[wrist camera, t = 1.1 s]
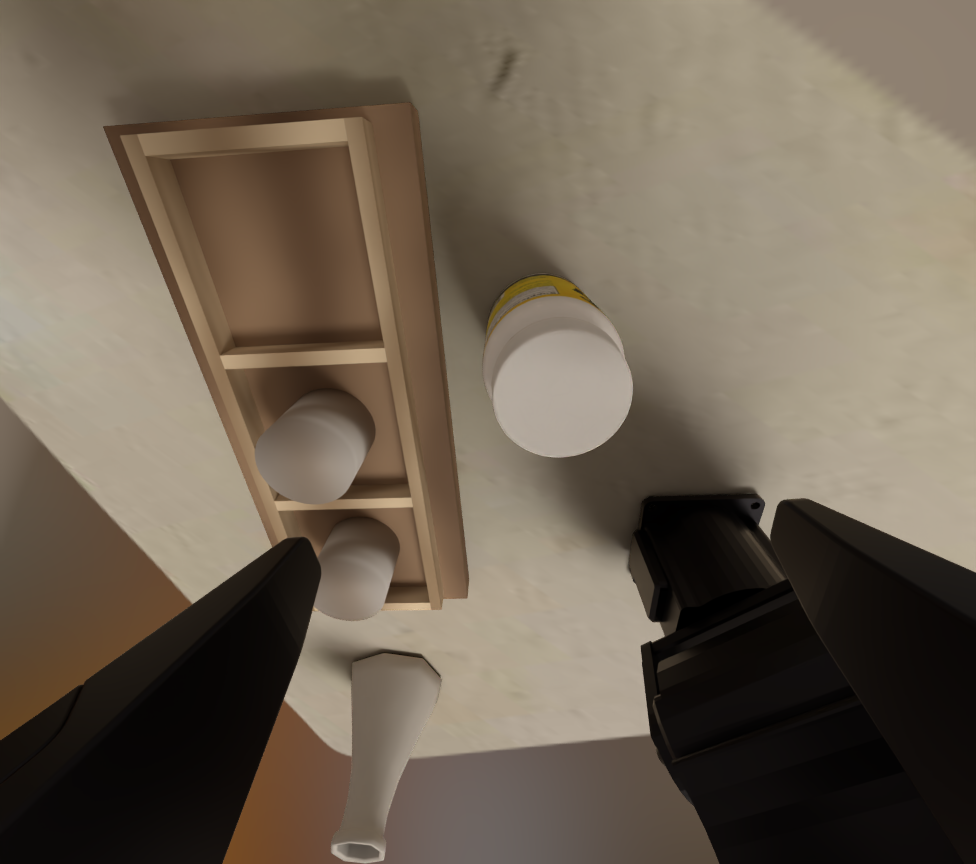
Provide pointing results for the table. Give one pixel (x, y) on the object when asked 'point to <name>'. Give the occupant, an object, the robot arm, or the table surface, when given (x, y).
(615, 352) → the supplement bottle
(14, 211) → the table surface
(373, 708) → the flask
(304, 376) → the socket tray
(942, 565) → the robot arm
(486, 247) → the table surface
